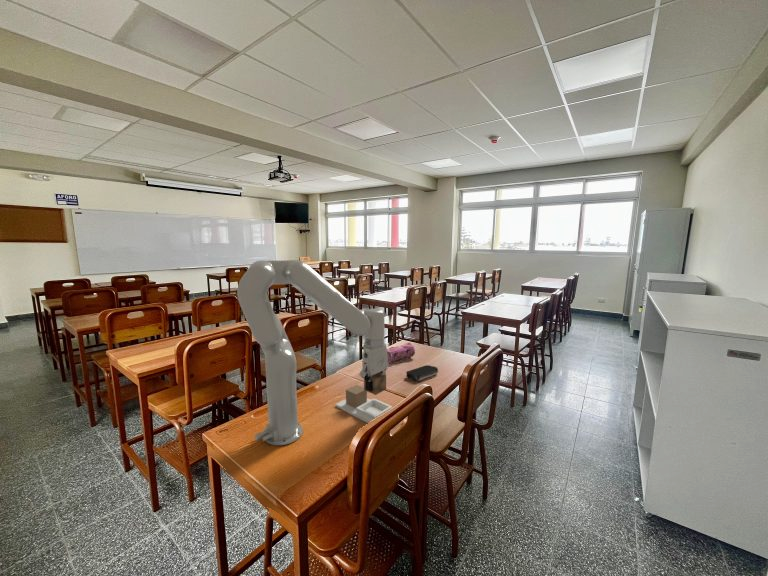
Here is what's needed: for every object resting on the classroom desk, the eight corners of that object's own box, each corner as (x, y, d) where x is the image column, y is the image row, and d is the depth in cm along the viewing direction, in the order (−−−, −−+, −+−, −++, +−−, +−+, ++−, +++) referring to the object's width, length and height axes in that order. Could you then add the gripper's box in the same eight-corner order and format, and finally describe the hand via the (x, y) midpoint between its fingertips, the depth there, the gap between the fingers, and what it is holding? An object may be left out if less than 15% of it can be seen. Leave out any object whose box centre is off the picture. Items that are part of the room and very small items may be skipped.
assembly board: (375, 427, 111) (375, 409, 110) (335, 406, 125) (335, 390, 124) (396, 413, 120) (396, 396, 119) (356, 395, 134) (356, 380, 133)
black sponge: (416, 383, 146) (416, 376, 146) (404, 377, 153) (404, 370, 152) (439, 375, 156) (439, 368, 156) (427, 369, 163) (427, 363, 162)
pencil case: (386, 367, 165) (387, 351, 164) (377, 362, 173) (377, 347, 171) (416, 358, 178) (416, 344, 177) (405, 354, 185) (406, 340, 184)
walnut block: (375, 395, 114) (375, 379, 113) (364, 390, 117) (363, 375, 117) (386, 389, 118) (386, 374, 117) (374, 384, 122) (374, 370, 121)
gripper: (365, 350, 106) (366, 399, 109) (396, 338, 119) (396, 382, 122) (350, 345, 111) (351, 392, 114) (382, 334, 124) (382, 377, 127)
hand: (375, 386), depth 118 cm, fingers closed on walnut block, 6 cm apart
